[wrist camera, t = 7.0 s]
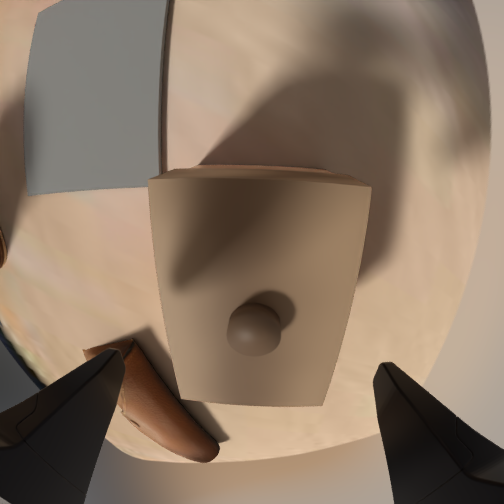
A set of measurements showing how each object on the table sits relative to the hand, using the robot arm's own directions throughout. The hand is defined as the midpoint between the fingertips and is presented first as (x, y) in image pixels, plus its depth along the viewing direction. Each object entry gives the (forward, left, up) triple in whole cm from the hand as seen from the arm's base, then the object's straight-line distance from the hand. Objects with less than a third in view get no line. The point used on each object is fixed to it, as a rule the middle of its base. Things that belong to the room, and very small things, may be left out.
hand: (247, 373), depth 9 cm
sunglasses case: (+10, +18, -11) cm, 23 cm away
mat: (+12, -12, -10) cm, 20 cm away
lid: (0, 0, -6) cm, 6 cm away
